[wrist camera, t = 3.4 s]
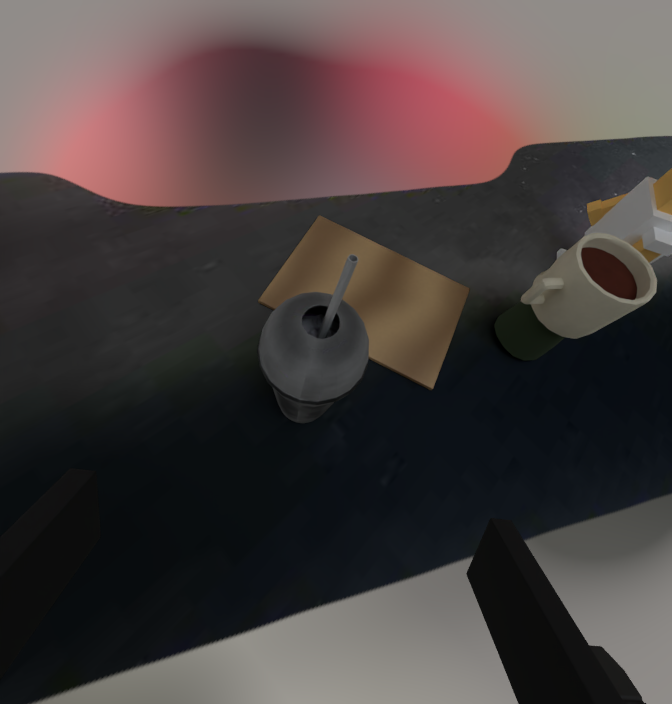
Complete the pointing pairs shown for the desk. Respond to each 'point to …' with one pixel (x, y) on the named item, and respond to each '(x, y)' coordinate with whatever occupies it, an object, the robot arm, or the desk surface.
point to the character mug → (577, 296)
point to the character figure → (637, 217)
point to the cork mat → (378, 297)
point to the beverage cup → (314, 350)
